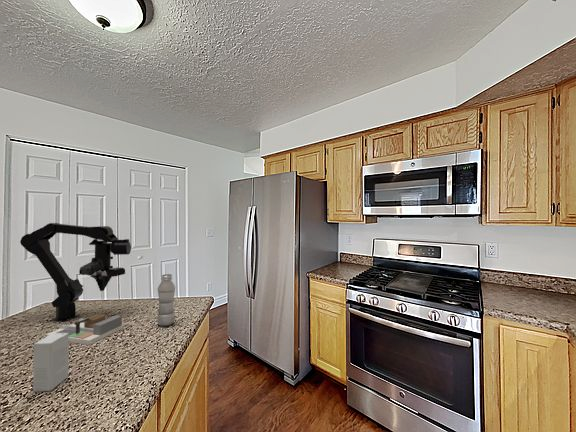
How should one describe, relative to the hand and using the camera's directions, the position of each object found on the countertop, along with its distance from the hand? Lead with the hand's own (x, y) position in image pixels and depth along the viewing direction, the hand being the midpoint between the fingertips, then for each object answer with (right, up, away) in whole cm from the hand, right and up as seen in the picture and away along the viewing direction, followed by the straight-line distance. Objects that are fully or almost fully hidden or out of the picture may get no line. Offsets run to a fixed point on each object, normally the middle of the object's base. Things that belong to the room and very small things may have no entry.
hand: (102, 290), depth 114 cm
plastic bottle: (+32, -12, -8) cm, 35 cm away
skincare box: (+20, -11, -47) cm, 52 cm away
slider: (+8, -9, -18) cm, 22 cm away
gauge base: (+6, -11, -17) cm, 21 cm away
